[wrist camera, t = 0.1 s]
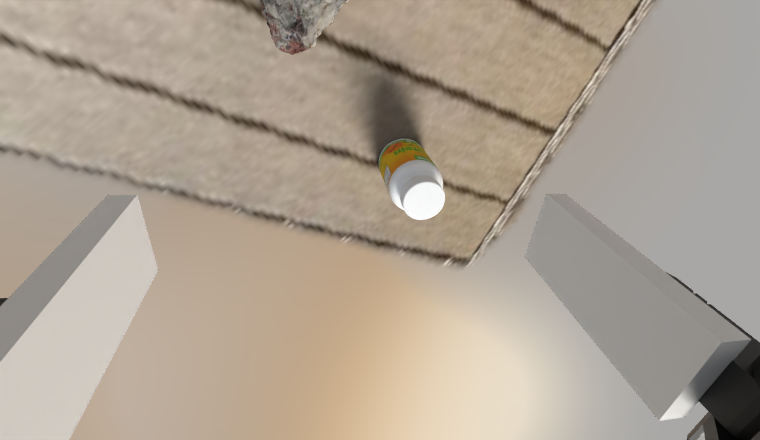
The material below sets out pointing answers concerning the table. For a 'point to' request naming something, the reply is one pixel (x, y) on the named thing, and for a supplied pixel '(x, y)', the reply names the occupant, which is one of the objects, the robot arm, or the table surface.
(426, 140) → the table surface
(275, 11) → the mineral rock
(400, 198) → the supplement bottle
